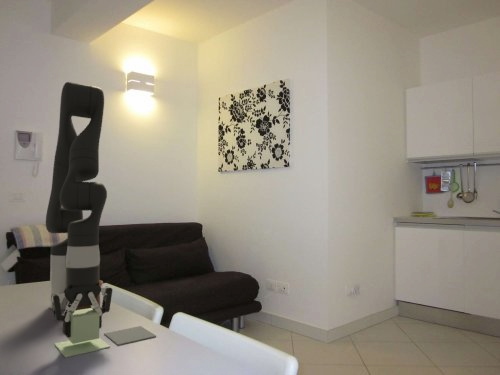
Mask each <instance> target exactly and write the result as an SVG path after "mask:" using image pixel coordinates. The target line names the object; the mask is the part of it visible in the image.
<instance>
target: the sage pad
mask: <svg viewBox="0 0 500 375" xmlns="http://www.w3.org/2000/svg"><path fill="white" fill-rule="evenodd" d="M54 346H55V347H56V348H57V349H58V350H59V352H60V353H61V354H62V355H63V357H64V358H70V357H74V356H79V355H83V354H86V353H92V352H95V351H100V350H104V349H110V348H111V346H110V345H109V344H108V343H107V342H105V341H104V340H103V339H102V338H101V337H100V336H99V339H94V340H89V341H84V342H80V343H75V344H72V343H71V342H70V340H69V339H68V340H66V341H65V340H64V341H61V342H56V343H54Z"/></svg>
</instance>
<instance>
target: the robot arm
mask: <svg viewBox="0 0 500 375" xmlns="http://www.w3.org/2000/svg"><path fill="white" fill-rule="evenodd" d="M104 108H105V94H104V91H103V89H102V88H101V87H99V86H95V85H89V84H84V83H79V82H73V81H66V82H65V83H64V84H63V86H62V90H61V95H60V106H59V122H58V123H59V124H58V133H57V134H58V135H57V136H58V137H57V141H56V142H57V143H56V148H55V152H54V153H55V154H54V160H53V169H52V178H51V179H52V180H51V181H52V182H51V190H50V195H49V200H48V204H47V209H46V210H47V211H46V215H45V228H46V230H47V231H48V233H50V234H67V238H66V239H64V240H62V241H60V242H58V243H55V244H53V245H52V246H51V247H50V262H49V263H50V268H49V269H50V272H49V273H50V276H49V278H50V279H49V281H50V283H49V308H50V310H52V311H53V317H54V318H55V319H56V320H57V321H58V322H60V321H61V322H62V333H63V335H64V336H65V337H66V339H68V337H71V321H70V319H71V316H72V315H73V313H74V312H75V310H76V308H78V307H82V306H91V307H92V309H93V310H95V311H96V312H98V313H99V330H100V329H102V327H103V326H102V322H103V320H102V318H103V317H102V316H103V314H105V313H109V312H110V309H111V302H112V296H113V288H112V287H110V286H105V287H104V286H102V287H100V285H99V280H100V263H101V254H100V253H101V252H100V247H99V244H100V243H99V242H100V238H99V237H100V236H99V235H100V223H101V219H102V214H103V211H104V208H105V205H106V201H107V196H108V191H107V188H106V186H105V185H104V184H103V183H102V182H101V181H100V182H99V181H91V180H94V179H95V178H97V176H98V175H99V171H100V170H99V169H100V168H99V166H100V165H99V164H100V163H99V160H100V158H99V156H100V155H99V153H100V152H99V149H100V138H101V134H102V128H103V127H102V126H103V119H104ZM72 117H77V118H85V119H90V120H89V123H88V124H87V125H86V126H85V128H84V129H83V130H82V131H81V132H80V133H79V134H77V131H76V129H75V126H74V124H73V118H72ZM84 211H88V212H89V211H90V212H91V213H90V215H89V216H88V217H85V218H84ZM99 294H100V295H102V302H101V303H102V304H101V306H100V307H101V308H100V307H99V304H98V302H97V300H96V298H97V297H98V295H99ZM62 310H64V312H63V313H62Z"/></svg>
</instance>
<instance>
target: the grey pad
mask: <svg viewBox="0 0 500 375" xmlns="http://www.w3.org/2000/svg"><path fill="white" fill-rule="evenodd" d="M103 334H104V336H105V337H106V338H108V339H109V340H110V341H111V342H113V343H114V344H115V345H116V346H123V345H126V344H131V343H135V342H139V341H140V342H141V341H144V340H149V339H152V338H153V339H154V338H156V337H157V334H155V333H152V332H151V331H150V330H148V329H147V328H144V327H143V326H141V325H138V326H134V327H129V328H128V327H127V328H123V329H120V330H114V331H109V332H104V333H103Z"/></svg>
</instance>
